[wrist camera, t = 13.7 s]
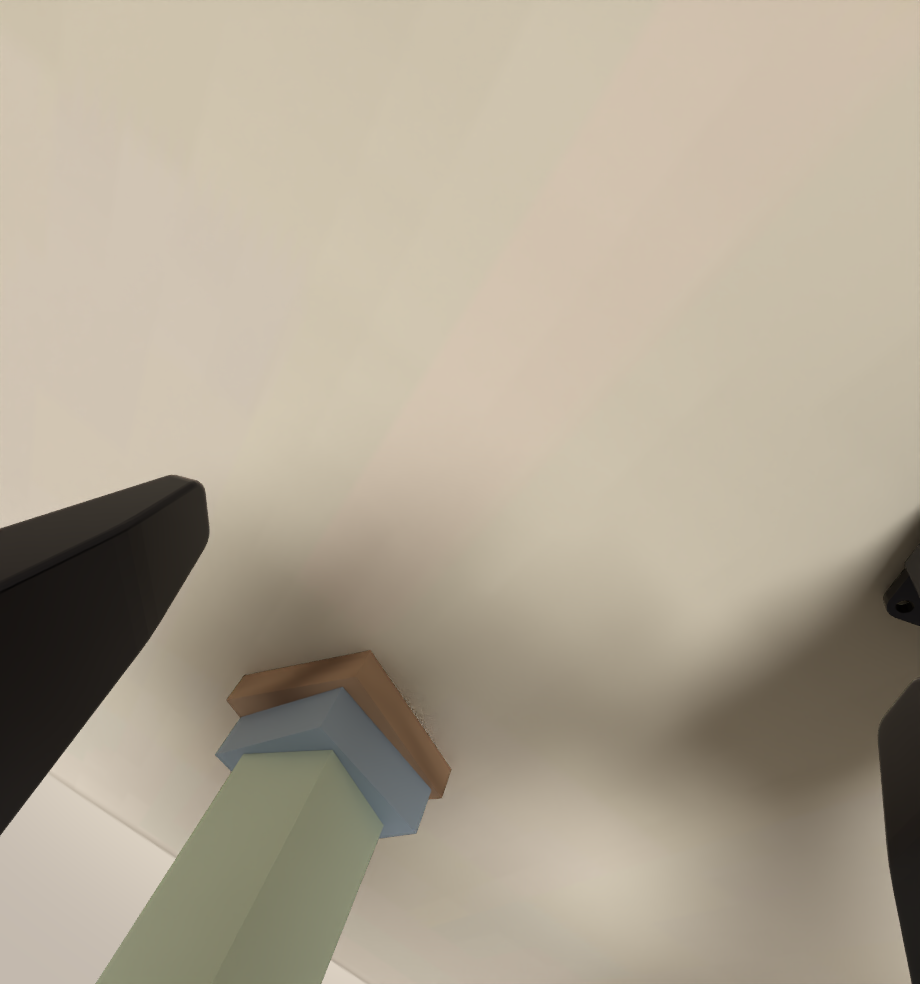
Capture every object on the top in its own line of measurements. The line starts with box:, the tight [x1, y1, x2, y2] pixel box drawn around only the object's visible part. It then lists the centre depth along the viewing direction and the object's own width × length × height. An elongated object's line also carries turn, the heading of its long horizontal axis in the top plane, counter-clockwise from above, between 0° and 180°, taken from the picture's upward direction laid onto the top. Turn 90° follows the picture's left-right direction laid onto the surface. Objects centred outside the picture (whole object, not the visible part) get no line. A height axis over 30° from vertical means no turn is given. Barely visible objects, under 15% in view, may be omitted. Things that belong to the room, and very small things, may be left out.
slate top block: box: [215, 687, 431, 838], centre depth 31 cm, size 7×7×2 cm
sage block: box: [96, 750, 384, 984], centre depth 25 cm, size 5×5×11 cm
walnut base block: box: [227, 650, 451, 799], centre depth 32 cm, size 8×8×2 cm
